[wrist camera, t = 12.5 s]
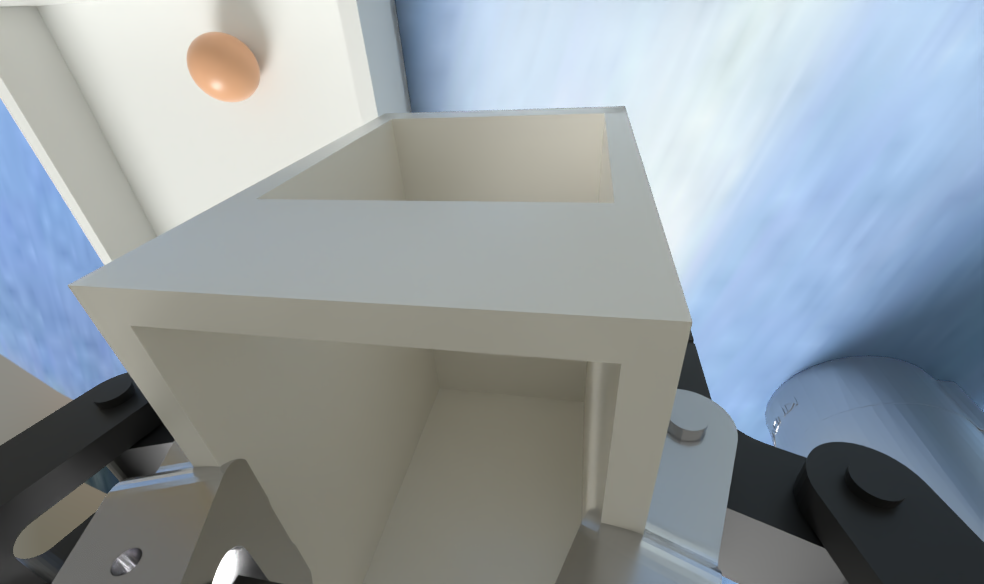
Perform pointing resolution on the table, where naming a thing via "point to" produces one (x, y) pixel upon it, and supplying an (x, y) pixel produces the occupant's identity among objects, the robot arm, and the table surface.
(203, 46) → the ball
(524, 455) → the open box
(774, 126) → the table surface
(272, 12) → the tray
